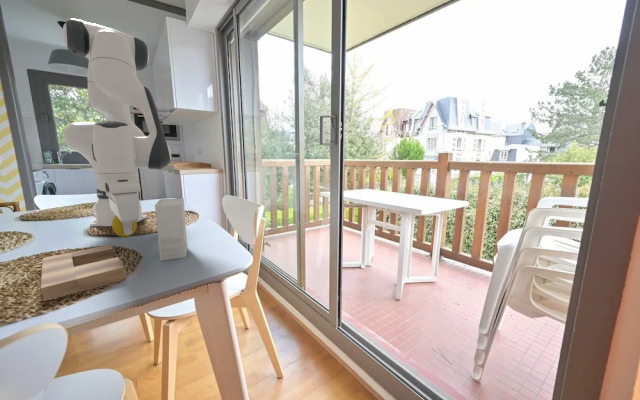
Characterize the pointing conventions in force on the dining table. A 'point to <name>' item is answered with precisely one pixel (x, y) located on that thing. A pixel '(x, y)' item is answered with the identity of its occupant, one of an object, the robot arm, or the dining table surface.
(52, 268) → the notched board
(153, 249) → the dining table surface
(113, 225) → the lemon
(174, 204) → the skincare box
